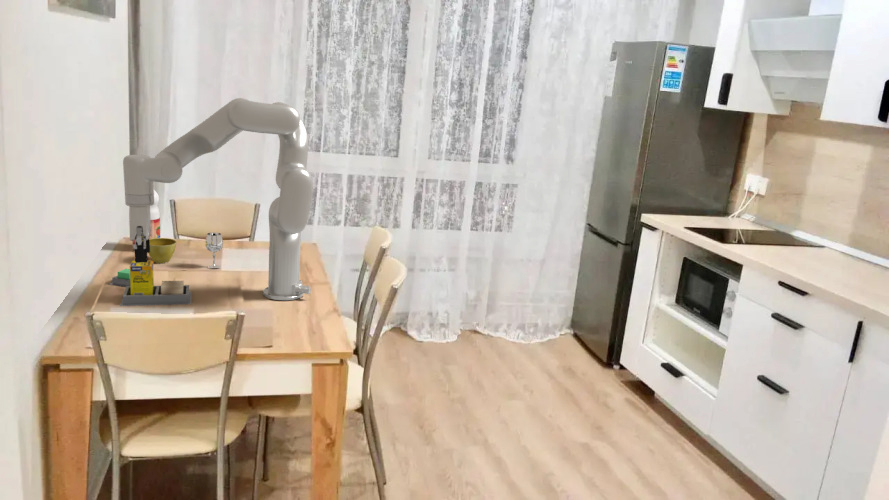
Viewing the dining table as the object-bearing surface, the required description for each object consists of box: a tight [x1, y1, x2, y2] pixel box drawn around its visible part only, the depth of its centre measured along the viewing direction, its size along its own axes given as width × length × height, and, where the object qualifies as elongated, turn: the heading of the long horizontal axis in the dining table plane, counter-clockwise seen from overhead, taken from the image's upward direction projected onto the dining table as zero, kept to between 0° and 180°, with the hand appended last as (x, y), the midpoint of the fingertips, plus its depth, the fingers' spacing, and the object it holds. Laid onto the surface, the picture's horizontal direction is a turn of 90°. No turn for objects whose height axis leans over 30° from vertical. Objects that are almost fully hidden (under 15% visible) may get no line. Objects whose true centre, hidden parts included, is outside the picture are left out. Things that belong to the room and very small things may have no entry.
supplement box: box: [129, 260, 155, 295], centre depth 200 cm, size 6×6×11 cm
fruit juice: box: [132, 189, 161, 251], centre depth 250 cm, size 9×9×28 cm
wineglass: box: [204, 231, 224, 269], centre depth 238 cm, size 6×6×12 cm
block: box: [160, 280, 185, 295], centre depth 203 cm, size 6×6×4 cm
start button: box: [117, 268, 130, 279], centre depth 213 cm, size 4×4×2 cm
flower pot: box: [148, 237, 177, 264], centre depth 240 cm, size 10×10×7 cm
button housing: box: [107, 275, 130, 288], centre depth 214 cm, size 8×8×3 cm
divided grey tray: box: [119, 284, 193, 307], centre depth 202 cm, size 19×11×4 cm, turn 109°
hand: (142, 257), depth 198 cm, fingers open, 9 cm apart
